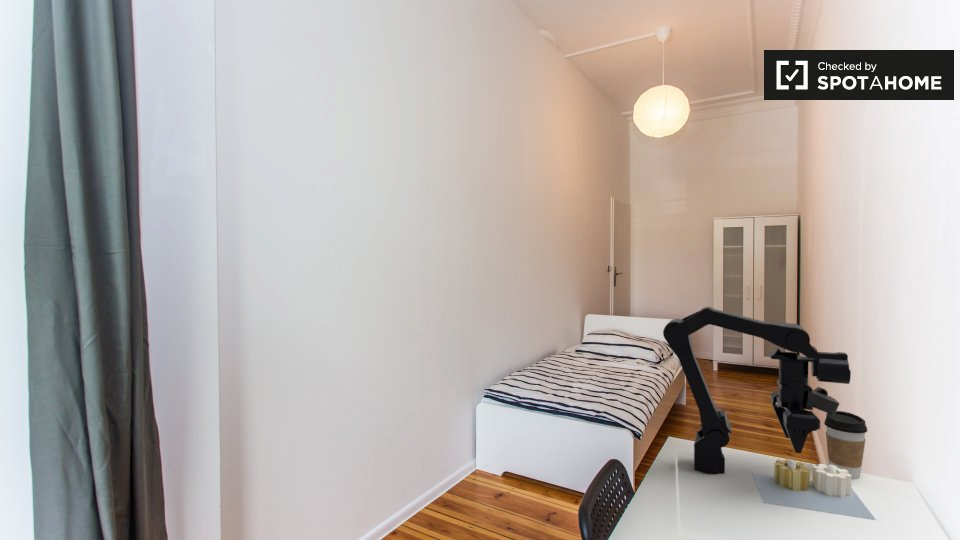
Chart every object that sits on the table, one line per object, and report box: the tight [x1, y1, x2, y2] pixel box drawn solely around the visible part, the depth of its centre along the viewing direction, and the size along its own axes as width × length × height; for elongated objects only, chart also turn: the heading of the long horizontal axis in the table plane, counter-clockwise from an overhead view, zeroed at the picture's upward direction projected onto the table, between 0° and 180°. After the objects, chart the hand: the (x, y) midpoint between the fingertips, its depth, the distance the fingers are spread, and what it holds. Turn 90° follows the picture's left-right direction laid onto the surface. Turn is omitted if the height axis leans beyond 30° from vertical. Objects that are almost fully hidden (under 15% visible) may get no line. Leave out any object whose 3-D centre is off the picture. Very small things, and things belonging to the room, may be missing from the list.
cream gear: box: [812, 463, 852, 498], centre depth 109 cm, size 7×7×4 cm
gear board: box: [751, 459, 876, 521], centre depth 108 cm, size 20×15×6 cm
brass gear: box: [773, 458, 811, 491], centre depth 112 cm, size 7×7×4 cm
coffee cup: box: [823, 410, 868, 480], centre depth 117 cm, size 8×8×15 cm
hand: (793, 445), depth 112 cm, fingers open, 9 cm apart
